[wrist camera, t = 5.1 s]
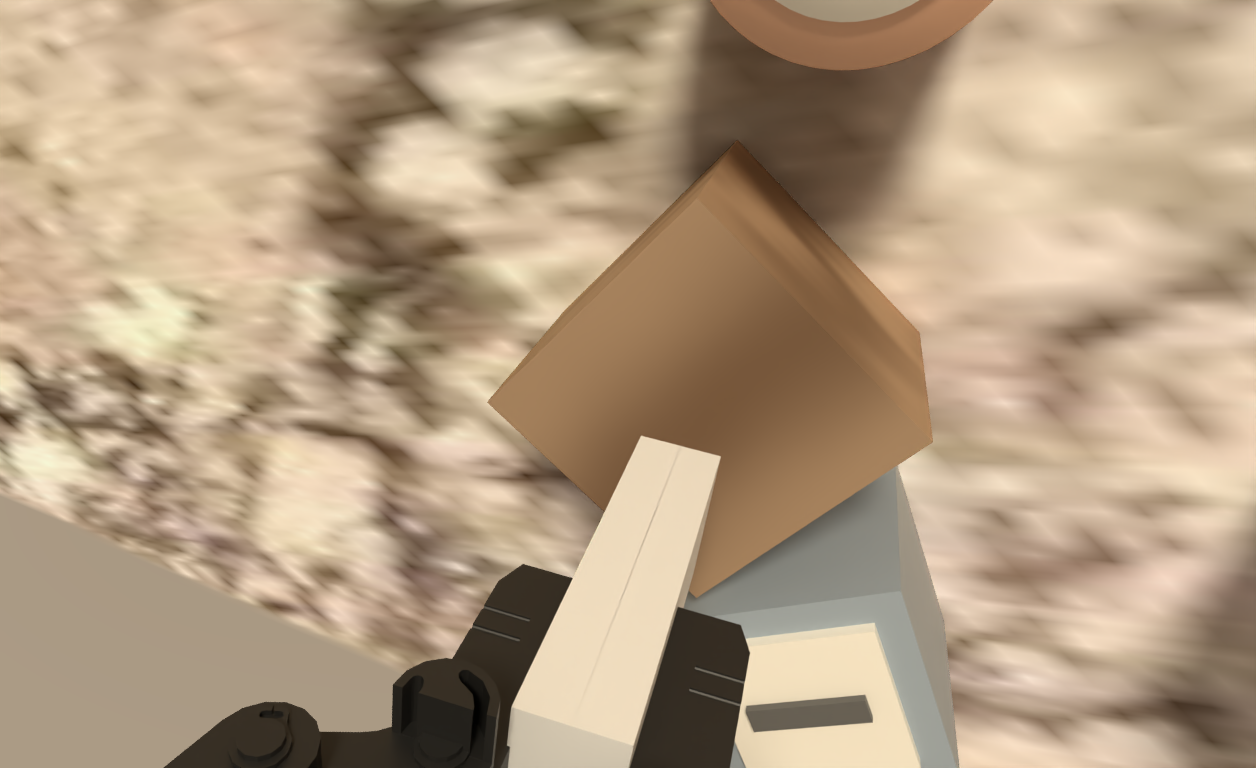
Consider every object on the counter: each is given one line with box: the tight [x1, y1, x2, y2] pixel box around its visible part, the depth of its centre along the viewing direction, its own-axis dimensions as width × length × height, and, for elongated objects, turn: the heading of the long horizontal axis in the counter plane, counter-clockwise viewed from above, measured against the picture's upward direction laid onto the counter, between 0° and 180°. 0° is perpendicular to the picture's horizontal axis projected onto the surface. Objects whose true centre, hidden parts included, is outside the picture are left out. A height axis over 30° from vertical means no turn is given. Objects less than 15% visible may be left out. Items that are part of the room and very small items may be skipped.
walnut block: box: [488, 140, 933, 598], centre depth 22 cm, size 7×7×6 cm
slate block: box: [684, 466, 959, 768], centre depth 24 cm, size 6×6×6 cm
